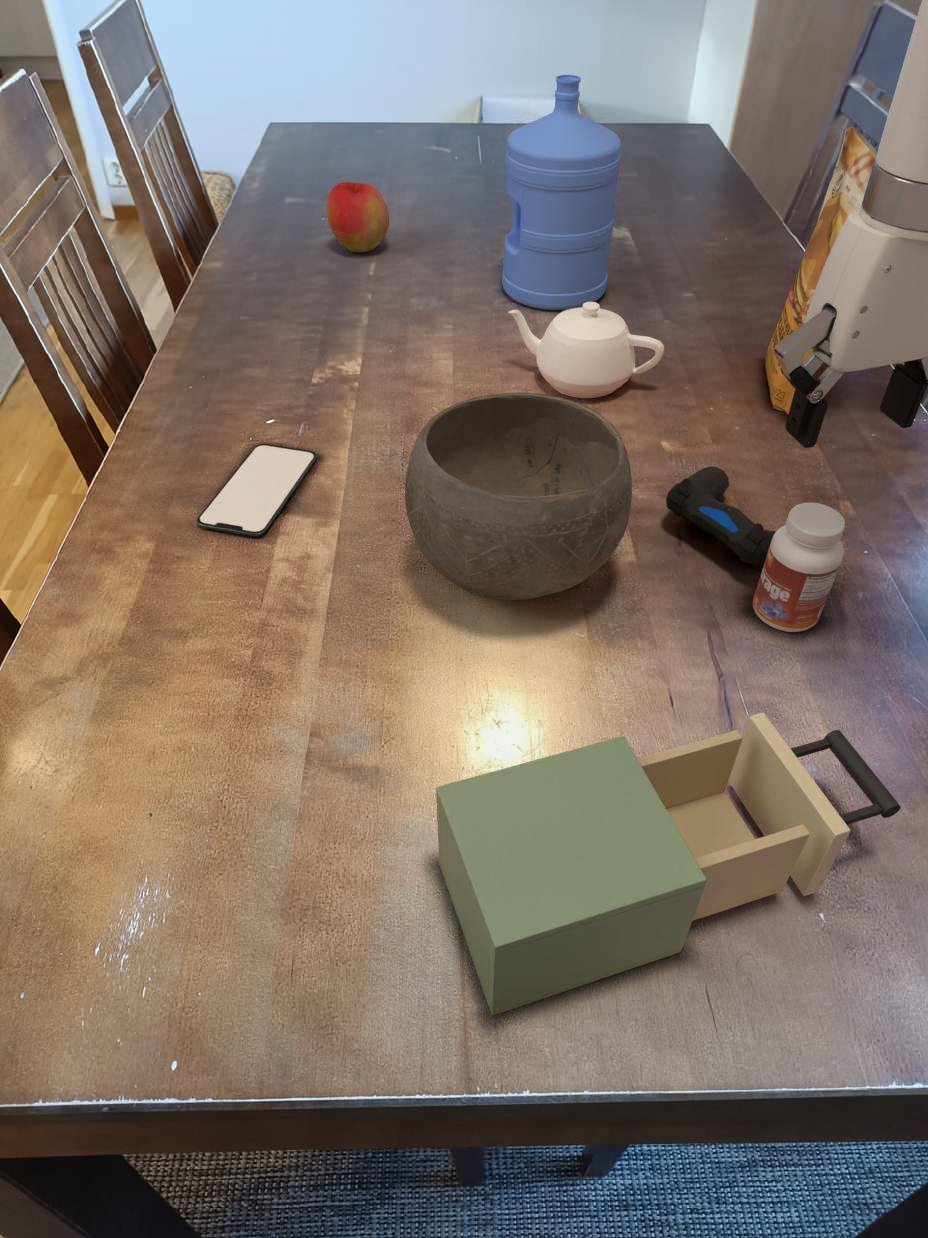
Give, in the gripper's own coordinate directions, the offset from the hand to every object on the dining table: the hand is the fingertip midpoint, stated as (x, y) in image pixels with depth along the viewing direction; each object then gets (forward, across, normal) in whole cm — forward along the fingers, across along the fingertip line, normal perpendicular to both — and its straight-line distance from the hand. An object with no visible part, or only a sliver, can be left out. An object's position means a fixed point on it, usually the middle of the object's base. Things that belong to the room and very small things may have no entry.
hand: (847, 427), depth 71 cm
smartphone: (+20, +44, -35) cm, 60 cm away
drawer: (+19, +17, +21) cm, 33 cm away
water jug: (+20, -6, -72) cm, 75 cm away
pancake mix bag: (+20, -24, -36) cm, 48 cm away
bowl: (+20, +22, -14) cm, 33 cm away
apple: (+20, +18, -96) cm, 100 cm away
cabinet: (+20, +32, +21) cm, 43 cm away
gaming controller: (+20, -1, -11) cm, 23 cm away
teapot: (+20, +1, -46) cm, 50 cm away
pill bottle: (+20, 0, 0) cm, 20 cm away
